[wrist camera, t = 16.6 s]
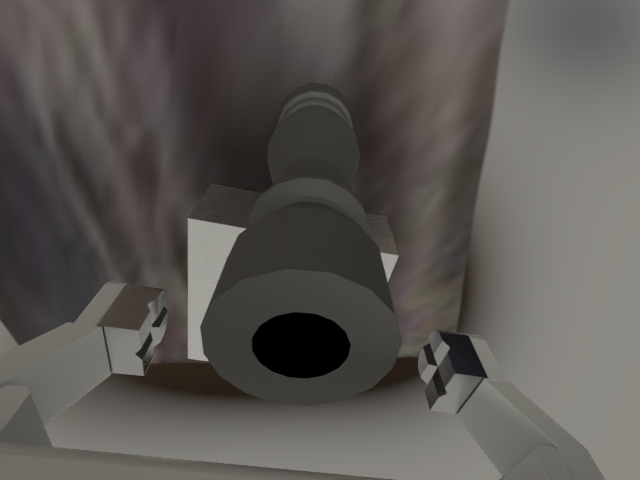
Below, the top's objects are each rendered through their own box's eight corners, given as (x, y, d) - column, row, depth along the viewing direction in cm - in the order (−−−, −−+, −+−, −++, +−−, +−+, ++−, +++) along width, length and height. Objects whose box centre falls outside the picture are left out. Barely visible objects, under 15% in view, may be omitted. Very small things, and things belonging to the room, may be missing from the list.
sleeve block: (206, 312, 44) (187, 358, 38) (211, 183, 34) (187, 218, 28) (344, 333, 46) (347, 380, 40) (386, 216, 36) (398, 255, 30)
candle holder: (267, 105, 30) (141, 314, 9) (331, 68, 28) (353, 219, 8) (302, 165, 33) (268, 427, 12) (362, 135, 31) (440, 376, 11)
